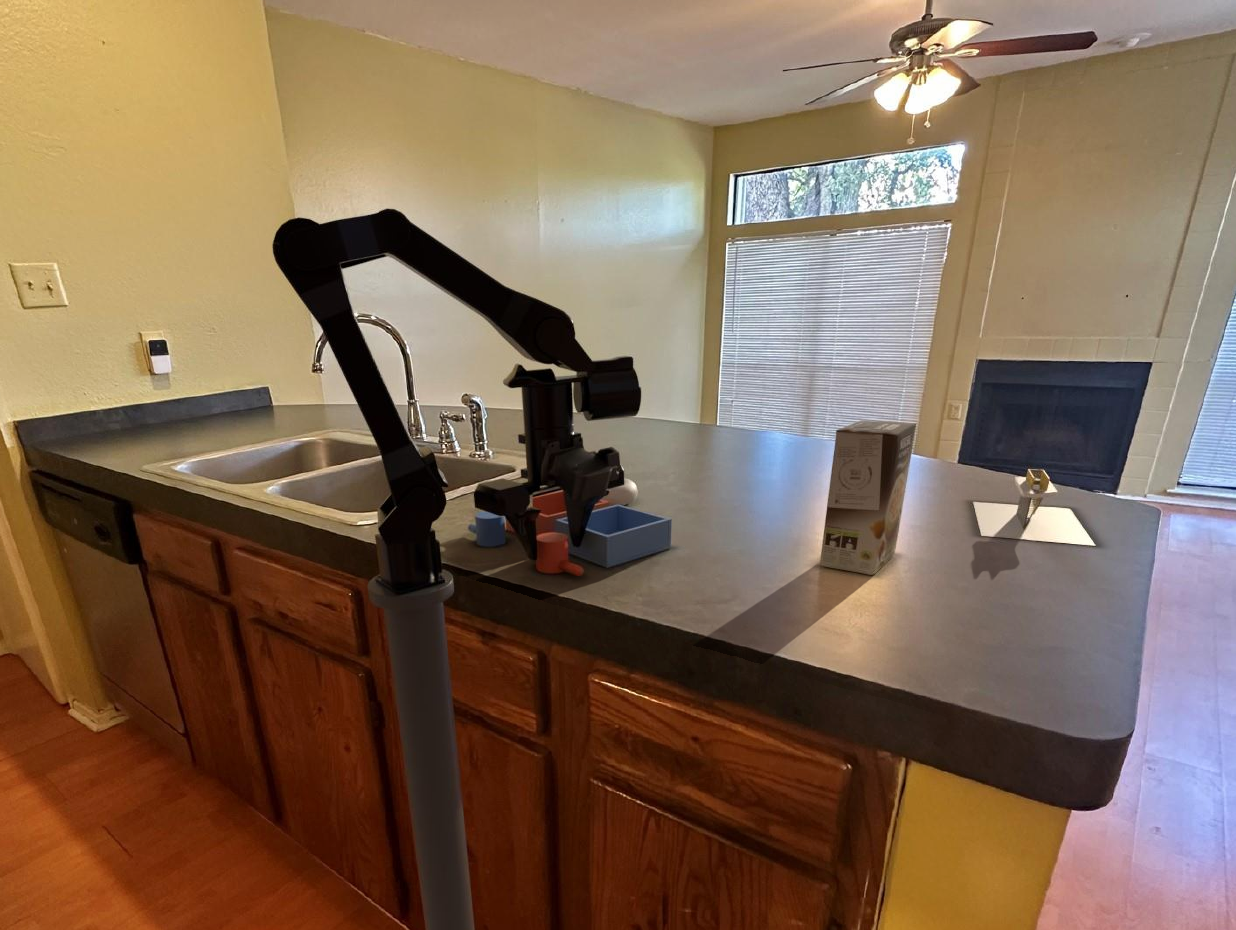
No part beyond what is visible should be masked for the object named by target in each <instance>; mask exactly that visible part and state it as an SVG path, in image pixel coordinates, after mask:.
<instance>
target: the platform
mask: <svg viewBox="0 0 1236 930" xmlns="http://www.w3.org/2000/svg"><path fill="white" fill-rule="evenodd" d="M1050 480H1051V479H1050V476H1049V475H1048V474H1047V472H1046V471H1045V470H1044V469H1033V468H1028V469H1027V472H1026V476H1015V477H1014V483H1015V485H1016V487H1017V489H1018V491H1019V494H1020V497H1019V500H1018V503H1017V504H1007V503H995V502H994V503H993V502H979V501H972V503H973V507H974V511H975V515H976V520H977V523H978V528H979V531H980V536H982V537H993V538H1005V539H1015V540H1027V541H1038V542H1049V543H1050V542H1051V543H1060V544H1061V543H1062V544H1073V545H1083V546H1097V545H1096V544H1095V543H1094V541H1093V539H1092V538H1091V537H1090V535H1089V534H1088V533H1087V531H1086V529H1085V528H1084V527H1083V525H1082V523H1081V522H1080V521H1079V520H1078V518H1077V517H1076V515H1075V514H1074V512H1073V511H1072V509H1071V508H1068V507H1067V508H1065V507H1054V506H1053V507H1051V506H1040V505H1041V503H1042V501H1043V499H1044V498H1051V497H1057V495H1058V490H1057V489H1056V487H1055V486H1054V485H1053V483H1052V482H1051V481H1050ZM1035 485H1037V486H1038V487H1039V488H1038V489H1037V488H1034V486H1035Z"/></svg>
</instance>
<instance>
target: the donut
mask: <svg viewBox="0 0 1236 930" xmlns="http://www.w3.org/2000/svg"><path fill="white" fill-rule="evenodd" d="M624 483H625V484H624V485H623V486H619V487H615V488H611V489H607V490H608V491H610V492H609V494H608V495H607V496H604V497H603V498H602V499H601V500H604V501H607V502H609V507H610V506H614V505H622V506H626V505H629V504H631V503H632V502H633V501H634V500H635V499H636V498H637V496H638V493H639V492H638V487H637V485H636V483H635V482H634V481H632V480H631V479H628V478H625V477H624Z"/></svg>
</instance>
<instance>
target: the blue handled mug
mask: <svg viewBox="0 0 1236 930" xmlns="http://www.w3.org/2000/svg"><path fill="white" fill-rule="evenodd" d="M474 519H475V523H470V524H468V526H467V529H468V531H469V532H470V533H473V534H475V535H476V545H478V546H481V547H486V548H491V547H492V548H493V547H499V546H503V545H504V544H506V542H507V539H506V538H507V537H506V519H505V516H498V515H495V514H492V513H489V512H486V511H480V512H476V514H475V516H474Z"/></svg>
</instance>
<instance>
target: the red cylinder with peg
mask: <svg viewBox="0 0 1236 930" xmlns="http://www.w3.org/2000/svg"><path fill="white" fill-rule="evenodd" d="M569 557H570V556H569V552H568V536H567V535H566V534H563V533H556V532H551V533H543V534H540V535H538V536H537V560H536V561H535V562H536V570H537V571H538V572H540V573H543V574H559V573H563V572H567V573H569V574H571V575H574V576H577V577H580V576H582V575H583V574H584V568H583V566H581V565H579V564H576V563H573V562H571V561H570V558H569Z"/></svg>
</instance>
